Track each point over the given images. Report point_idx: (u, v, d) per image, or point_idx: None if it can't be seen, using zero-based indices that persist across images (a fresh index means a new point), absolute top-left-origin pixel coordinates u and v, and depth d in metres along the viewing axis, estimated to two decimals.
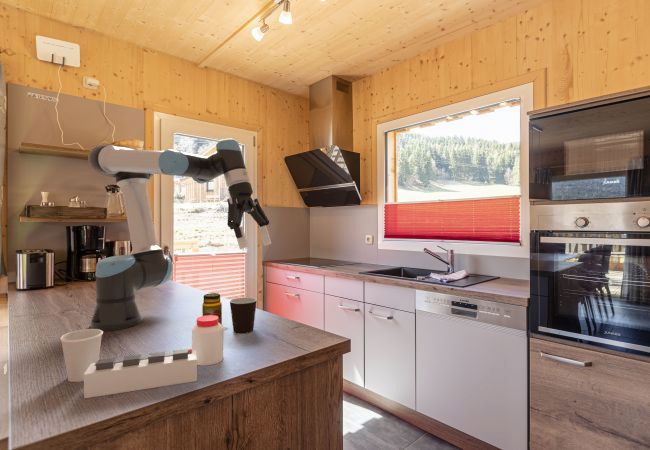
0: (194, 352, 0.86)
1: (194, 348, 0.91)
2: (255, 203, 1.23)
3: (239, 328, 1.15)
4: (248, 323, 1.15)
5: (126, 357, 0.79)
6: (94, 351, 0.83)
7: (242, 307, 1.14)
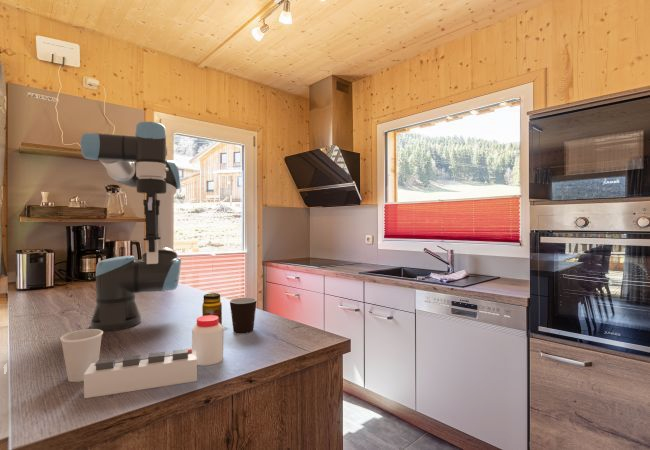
0: (194, 352, 0.86)
1: (194, 348, 0.91)
2: None
3: (239, 328, 1.15)
4: (248, 323, 1.15)
5: (126, 357, 0.79)
6: (94, 351, 0.83)
7: (242, 307, 1.14)
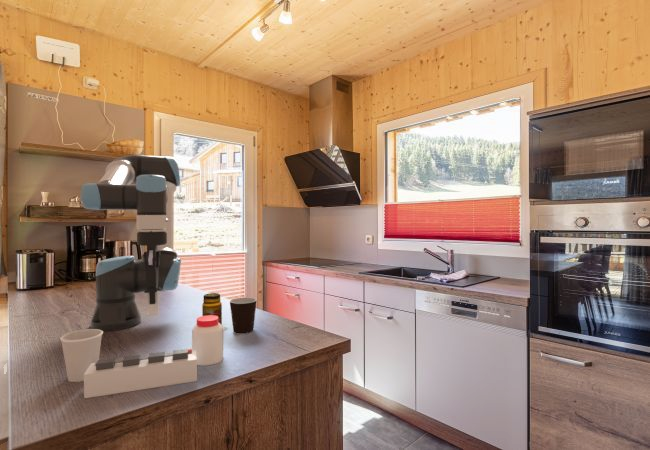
0: (194, 352, 0.86)
1: (194, 348, 0.91)
2: None
3: (239, 328, 1.15)
4: (248, 323, 1.15)
5: (126, 357, 0.79)
6: (94, 351, 0.83)
7: (242, 307, 1.14)
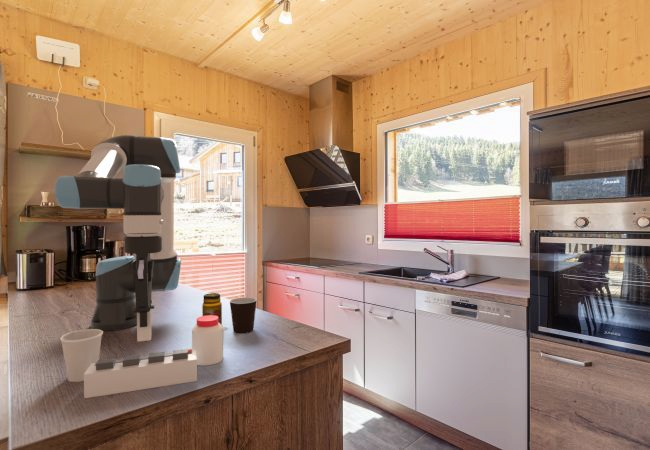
0: (194, 352, 0.86)
1: (194, 348, 0.91)
2: None
3: (239, 328, 1.15)
4: (248, 323, 1.15)
5: (126, 357, 0.79)
6: (94, 351, 0.83)
7: (242, 307, 1.14)
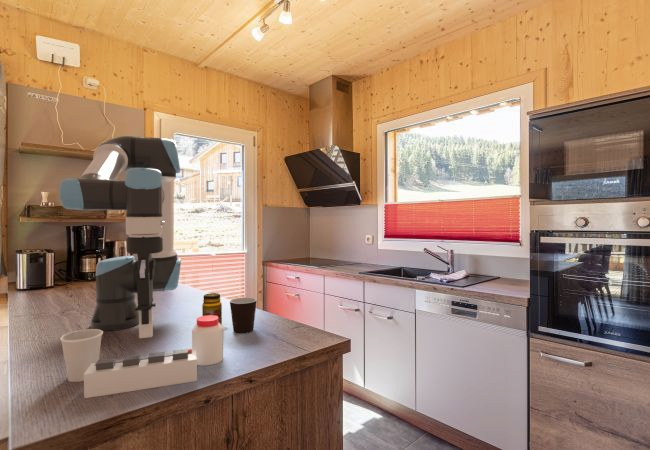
0: (194, 352, 0.86)
1: (194, 348, 0.91)
2: None
3: (239, 328, 1.15)
4: (248, 323, 1.15)
5: (126, 357, 0.79)
6: (94, 351, 0.83)
7: (242, 307, 1.14)
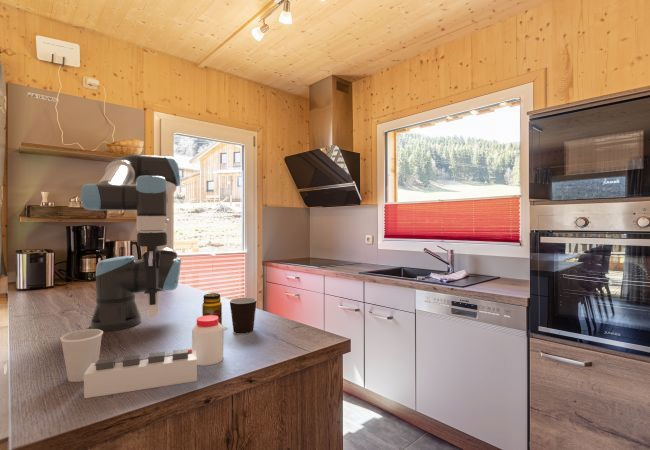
0: (194, 352, 0.86)
1: (194, 348, 0.91)
2: None
3: (239, 328, 1.15)
4: (248, 323, 1.15)
5: (126, 357, 0.79)
6: (94, 351, 0.83)
7: (242, 307, 1.14)
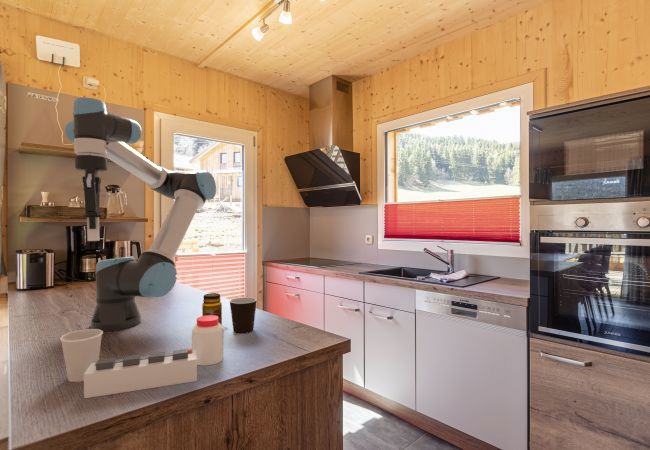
0: (194, 352, 0.86)
1: (194, 348, 0.91)
2: None
3: (239, 328, 1.15)
4: (248, 323, 1.15)
5: (126, 357, 0.79)
6: (94, 351, 0.83)
7: (242, 307, 1.14)
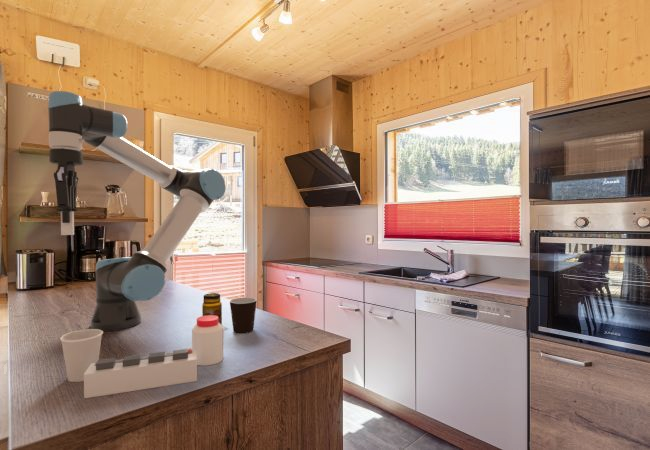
0: (194, 352, 0.86)
1: (194, 348, 0.91)
2: None
3: (239, 328, 1.15)
4: (248, 323, 1.15)
5: (126, 357, 0.79)
6: (94, 351, 0.83)
7: (242, 307, 1.14)
